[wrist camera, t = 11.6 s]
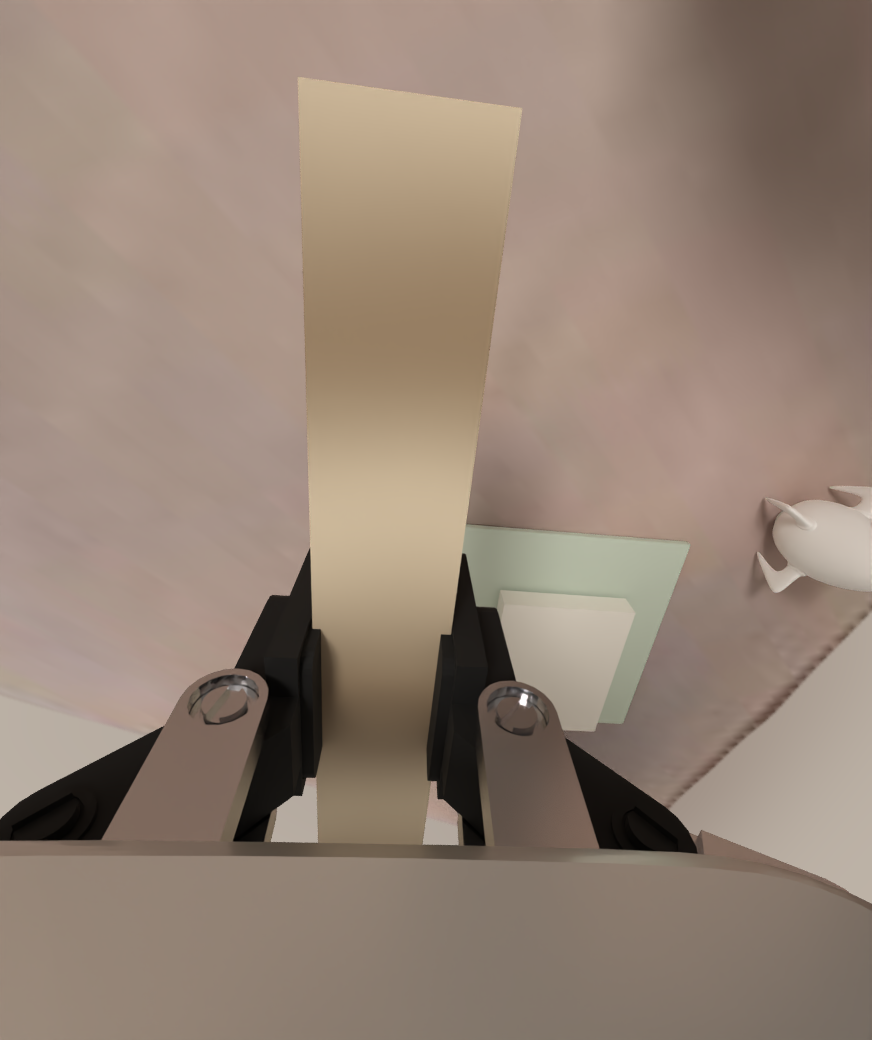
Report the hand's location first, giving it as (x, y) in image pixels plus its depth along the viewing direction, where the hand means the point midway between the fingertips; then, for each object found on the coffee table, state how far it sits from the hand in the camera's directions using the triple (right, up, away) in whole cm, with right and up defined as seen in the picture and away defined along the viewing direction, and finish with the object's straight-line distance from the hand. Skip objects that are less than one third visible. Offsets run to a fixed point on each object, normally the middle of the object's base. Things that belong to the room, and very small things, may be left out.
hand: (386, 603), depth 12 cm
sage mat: (+9, -6, +20) cm, 22 cm away
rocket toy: (+23, +2, +17) cm, 28 cm away
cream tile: (+9, -3, +17) cm, 20 cm away
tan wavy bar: (0, 0, +1) cm, 1 cm away
